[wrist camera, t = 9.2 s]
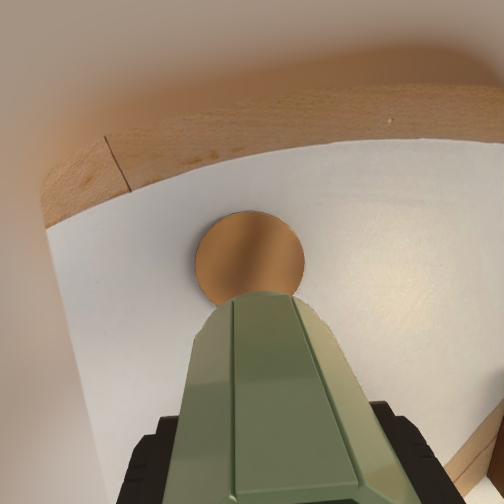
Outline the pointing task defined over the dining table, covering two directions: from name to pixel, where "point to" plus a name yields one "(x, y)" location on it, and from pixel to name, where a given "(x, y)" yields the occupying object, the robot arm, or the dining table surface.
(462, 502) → the robot arm
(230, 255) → the coaster
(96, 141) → the dining table surface
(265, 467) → the cup
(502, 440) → the tray
